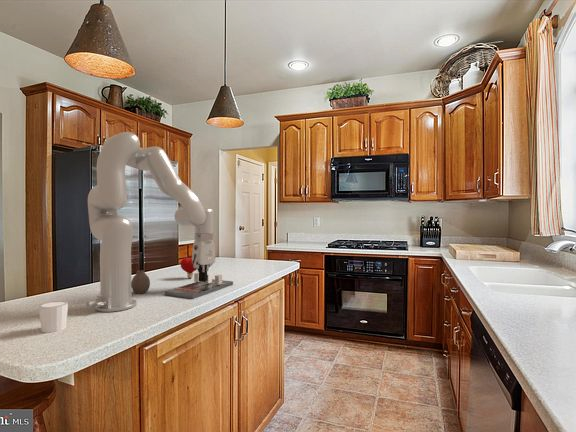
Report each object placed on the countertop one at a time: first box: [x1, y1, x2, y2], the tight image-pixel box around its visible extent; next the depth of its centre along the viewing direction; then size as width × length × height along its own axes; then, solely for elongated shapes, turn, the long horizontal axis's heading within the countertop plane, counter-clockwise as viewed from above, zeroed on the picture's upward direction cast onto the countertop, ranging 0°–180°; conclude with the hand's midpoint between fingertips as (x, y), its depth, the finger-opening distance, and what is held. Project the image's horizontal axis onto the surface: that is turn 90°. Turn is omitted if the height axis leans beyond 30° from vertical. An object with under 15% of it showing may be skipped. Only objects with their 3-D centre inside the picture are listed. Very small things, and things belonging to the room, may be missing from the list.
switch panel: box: [164, 272, 234, 300], centre depth 140 cm, size 26×14×6 cm, turn 155°
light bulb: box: [180, 257, 198, 279], centre depth 163 cm, size 9×7×10 cm
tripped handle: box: [205, 273, 213, 283], centre depth 144 cm, size 2×2×4 cm
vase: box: [131, 269, 151, 295], centre depth 135 cm, size 7×7×9 cm
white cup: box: [38, 300, 69, 334], centre depth 94 cm, size 7×7×7 cm
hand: (202, 281), depth 141 cm, fingers closed
